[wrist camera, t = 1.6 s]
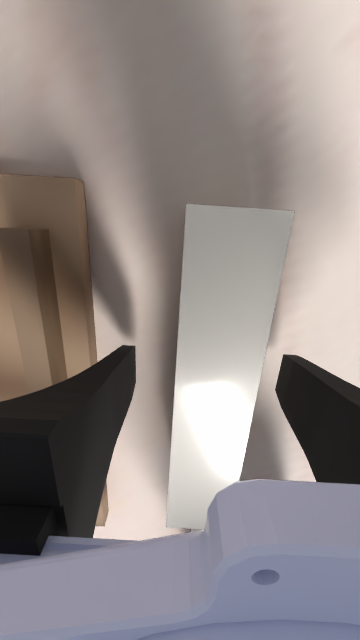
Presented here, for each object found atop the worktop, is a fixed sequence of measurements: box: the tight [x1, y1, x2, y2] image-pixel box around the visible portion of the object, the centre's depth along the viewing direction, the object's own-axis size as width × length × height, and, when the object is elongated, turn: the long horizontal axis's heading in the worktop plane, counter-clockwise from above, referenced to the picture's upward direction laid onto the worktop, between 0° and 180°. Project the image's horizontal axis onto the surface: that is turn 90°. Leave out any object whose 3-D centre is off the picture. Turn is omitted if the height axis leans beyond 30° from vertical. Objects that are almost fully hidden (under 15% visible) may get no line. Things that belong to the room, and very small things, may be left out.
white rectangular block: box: [166, 204, 295, 529], centre depth 12 cm, size 14×3×5 cm, turn 177°
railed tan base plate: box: [0, 174, 108, 526], centre depth 14 cm, size 22×10×2 cm, turn 177°
